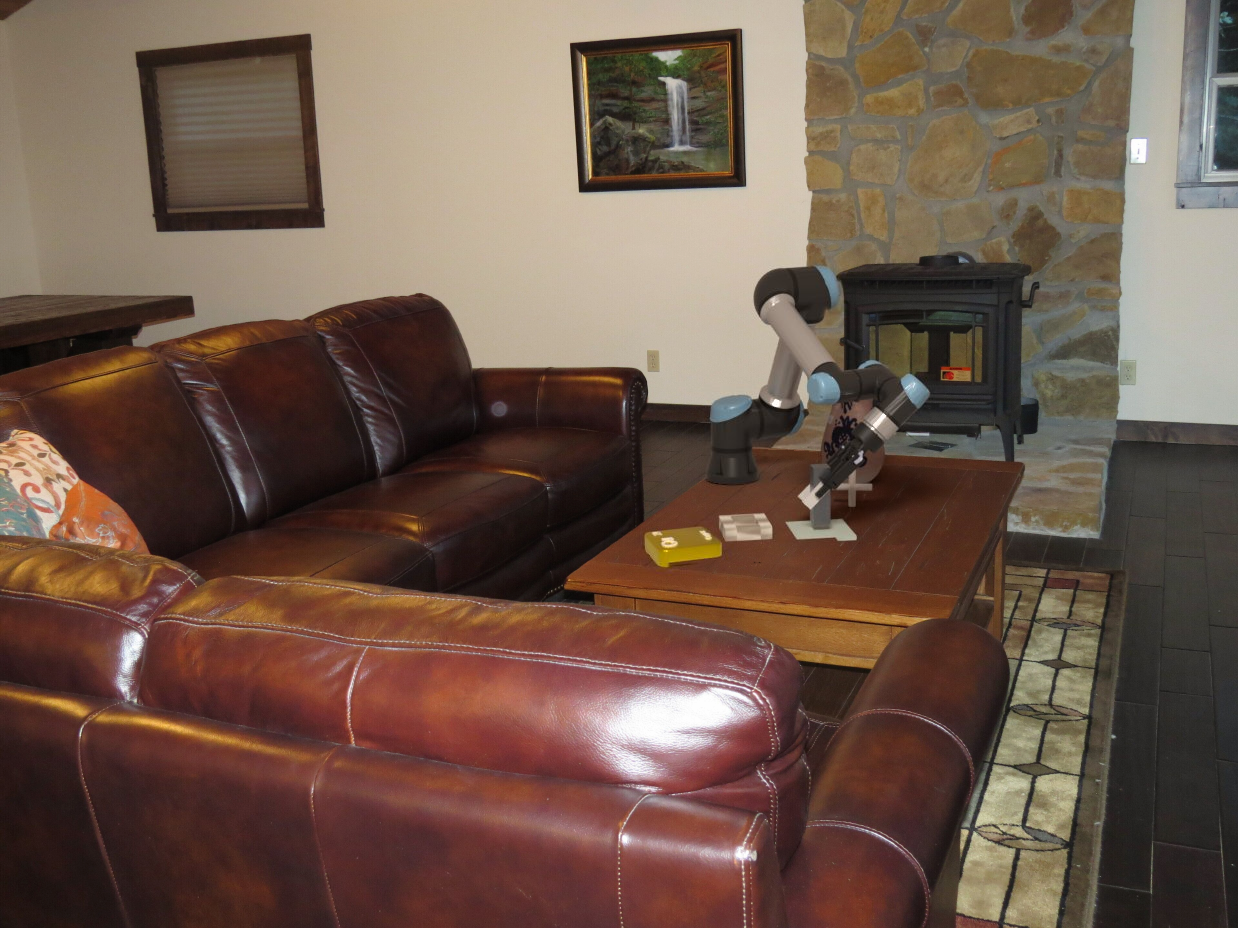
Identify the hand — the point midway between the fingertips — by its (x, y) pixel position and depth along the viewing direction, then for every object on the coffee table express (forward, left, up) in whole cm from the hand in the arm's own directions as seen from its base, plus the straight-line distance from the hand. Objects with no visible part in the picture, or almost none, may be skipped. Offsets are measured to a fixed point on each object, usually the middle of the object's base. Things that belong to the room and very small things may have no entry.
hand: (804, 502), depth 267 cm
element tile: (+10, -30, -8) cm, 33 cm away
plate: (0, +4, -8) cm, 9 cm away
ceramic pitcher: (-47, +24, -8) cm, 53 cm away
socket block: (0, -14, -8) cm, 16 cm away
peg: (0, +4, -5) cm, 6 cm away
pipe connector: (-21, +17, -8) cm, 28 cm away
